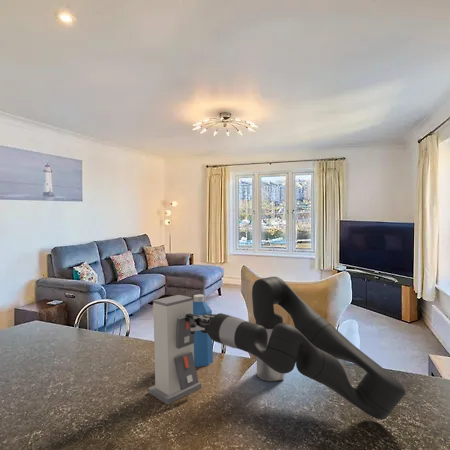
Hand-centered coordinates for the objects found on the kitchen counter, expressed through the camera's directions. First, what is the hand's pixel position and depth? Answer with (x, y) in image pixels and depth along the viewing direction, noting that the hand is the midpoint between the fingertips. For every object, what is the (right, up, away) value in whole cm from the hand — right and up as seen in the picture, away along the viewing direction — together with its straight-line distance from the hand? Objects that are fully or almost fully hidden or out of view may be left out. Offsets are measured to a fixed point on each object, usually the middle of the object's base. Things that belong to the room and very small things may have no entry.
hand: (187, 317), depth 99 cm
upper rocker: (-1, -9, +1) cm, 9 cm away
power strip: (-4, -24, +5) cm, 25 cm away
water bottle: (+2, -24, +26) cm, 36 cm away
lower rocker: (+1, -21, 0) cm, 21 cm away
